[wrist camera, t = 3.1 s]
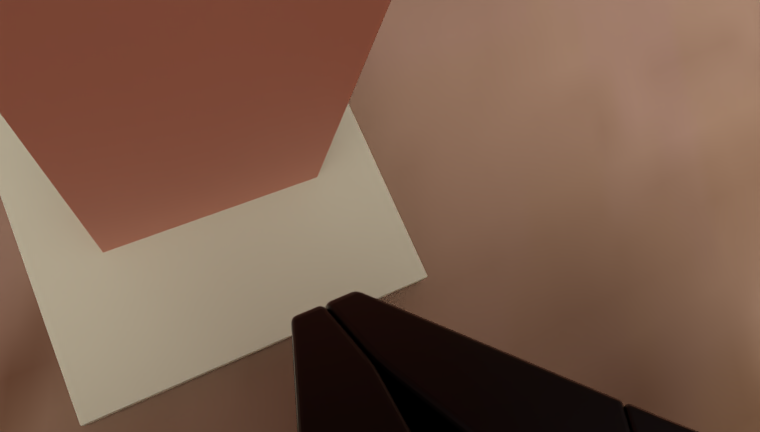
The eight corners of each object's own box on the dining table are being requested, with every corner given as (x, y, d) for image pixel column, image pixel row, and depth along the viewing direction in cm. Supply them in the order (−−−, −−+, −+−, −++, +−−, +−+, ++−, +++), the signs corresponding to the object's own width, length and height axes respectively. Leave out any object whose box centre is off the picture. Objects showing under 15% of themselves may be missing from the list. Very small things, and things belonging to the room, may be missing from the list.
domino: (317, 176, 16) (462, -172, 6) (103, 252, 14) (-131, -64, 5) (291, 118, 16) (394, -302, 6) (78, 185, 14) (-190, -240, 5)
